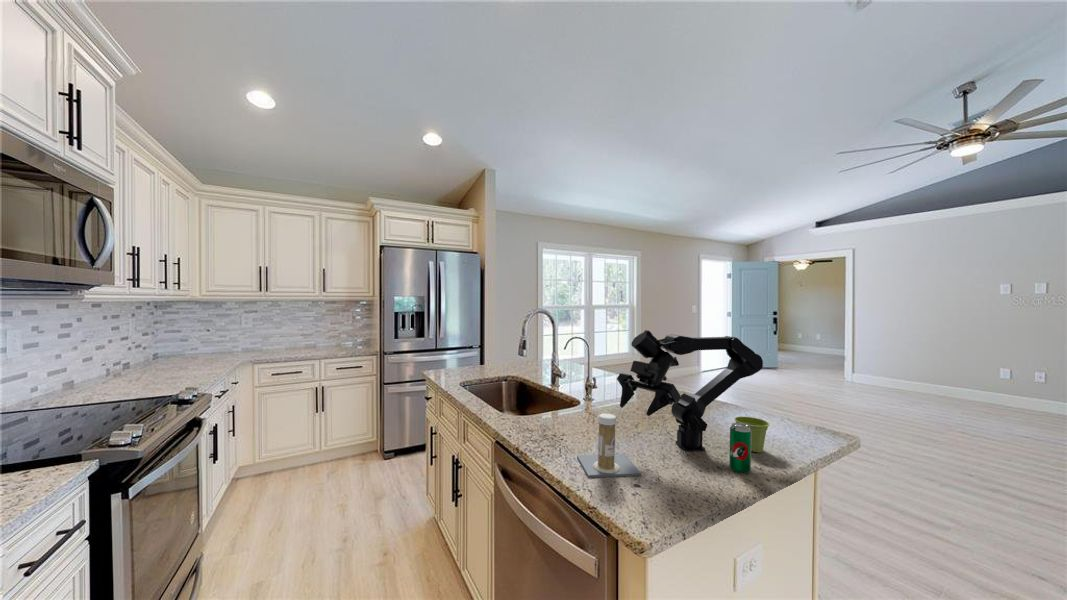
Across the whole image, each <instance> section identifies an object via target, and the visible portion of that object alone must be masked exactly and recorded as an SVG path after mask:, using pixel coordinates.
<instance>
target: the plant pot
mask: <svg viewBox="0 0 1067 600" xmlns="http://www.w3.org/2000/svg"><path fill="white" fill-rule="evenodd" d="M733 420H734V422H735V423H742V424H746V425H748V426H750V429H751V431H752V433H751V452H753V453H755V452H757V453H758V452H759V453H762V452H764V446H765V441H766V436H767V435H766V434H767V430H768V428H769V427H770V422H768V421H766V420H764V419H761V418H758V417H752V416H736V417H734V418H733Z"/></svg>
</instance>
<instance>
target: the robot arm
mask: <svg viewBox="0 0 1067 600" xmlns="http://www.w3.org/2000/svg"><path fill="white" fill-rule="evenodd" d="M631 347H632V348H634V349H635V351H637V352H638V353H639V354H640V355H641V356H642V357H643V358H644V359H650V361H649V362H645V361H644V362H643V361H640V360H639V361H638V360H633V361H632V364H631V368H630V372H632V373H634V374H636V375H635V377H636V378H637V379H639V380H636V379H635V378H634V376H633V375H632V374H628V373H624V372H622V373H619V374H618V376H617V378H616V381H617V382H618V383H619V385H620V386H621V395H620V401H619V406H620V408H624V407H625V406H626V405H627V404H628V403H629V402H630V400H631V399H632V398H633V397H634V396H635V392H636V391H637V389H641V390H646V391H649V392H653V393H654V398H653V399H652V401H651V402H650V404H649V406H648V409H647V410H646V413H645V414H646V415H647V416H648V417H651V415H653V414H655V413H657V412H658V411H660V410H661V409H663V408H665V407H667V406H669V405H671V415H672V416H673V417H674V418H675V422H676V424H677V423H678V424H679V425H678V429H677V431H676V440H675V444H677V445H678V446H679V447H680V448H682V449H683V450H684V451H687V452H688V451H689V452H690V451H706V447H705V446H703V433H704V432H706V430H707V427H708V423H707V422H706V421H705V420H704V419H703V418H702V417H703V416H704V414H705V411H706V409H707V408H706V407H708V405H711V403H713V402H714V401H715V400H716V399H717V398H719V397H720V396H721V395H722V394H723V393H725V392H726V391H727V390H729V388H731V387H733V385H735V384H736V383H737V382H738V381H739V380H741V379H744V378H748V377H752V376H753V375H755V374H757V373H758V372H760V371H761V370H762V369H763V368H764V361H763V358H762V356H761V355H760V354H758V353H756V352H755V351H754V350H752V349H751V348H750V347H749V346H747V345H746V344H745V343H743V342H742V340H740V339H739V338H738V337H736V336H728V335H725V336H710V337H709V336H708V337H707V336H705V337H701V336H700V337H698V336H697V337H690V336H685V335H678V334H674V333H673V334H671V333H670V334H667V335H665V337H664V338H659V339H657V338H656V337H655V336H654V335H653V333H652V332H651V331H650V330H647V329H646V330H644V331H643V332H642V333H640V334H638V335H637V336H635V337H634V338H633V340H632V341H631ZM663 349H664V350H663ZM714 350H715V351H716V350H717V351H718V350H723V351H725V352H726V355H728V357H729V358H730V359H729V360H728V363H727V367H726V368H725V369H723V370H722V371H721V372H720V373H719V374H717V375H716V376H715V377H714V378H712V379H711V380H709V381H708V383H706V384H705V385H704V386H702V387H701V388H700V389H699V390H698V391H697V392H695V393H694V394H692V395H689V394H686V393H685V392H684V393H682V394H680V392H679V390H678V389H677V387H676V386H675V384H674V383H670V382H666V381H667V379H668V378H667V376H666V375H667V373H668V371H669V370H670V368H671V367H678V366H679V365H680V363H679V361H678V359H677V356H673V355H672V354H675V355H678V356H684V355H688V354H692V353H694V352H697V351H714ZM671 353H672V354H671Z"/></svg>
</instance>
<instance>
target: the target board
mask: <svg viewBox="0 0 1067 600" xmlns="http://www.w3.org/2000/svg"><path fill="white" fill-rule="evenodd" d="M576 458H577V459H578V462H579V464H580V465H581V467H582V469H583V471H584V472H585V474H586V476H587V478H588V477H589V478H608V477H609V478H610V477H613V478H614V477H636V476H637V477H638V476H639V477H641V476H642V471H640V469H639V468H638V467H637V466H636V465H635V464H634V463H633V461H632V460H631V459H630V458H629V457H628V456H627V455H626V454H625V453H615V455H614V464H615V467H614V468H612V469H603V468H600V467H599V466H598V454H577V455H576Z"/></svg>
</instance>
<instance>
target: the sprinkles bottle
mask: <svg viewBox="0 0 1067 600" xmlns="http://www.w3.org/2000/svg"><path fill="white" fill-rule="evenodd" d="M616 424H617V417H616V415H615V414H612V413H601V414H599V415H598V441H597V444H598V446H597V455H598V466H599V467H600V468H603V469H612V468H614V467H615V464H614V455H615V454H616Z"/></svg>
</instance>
